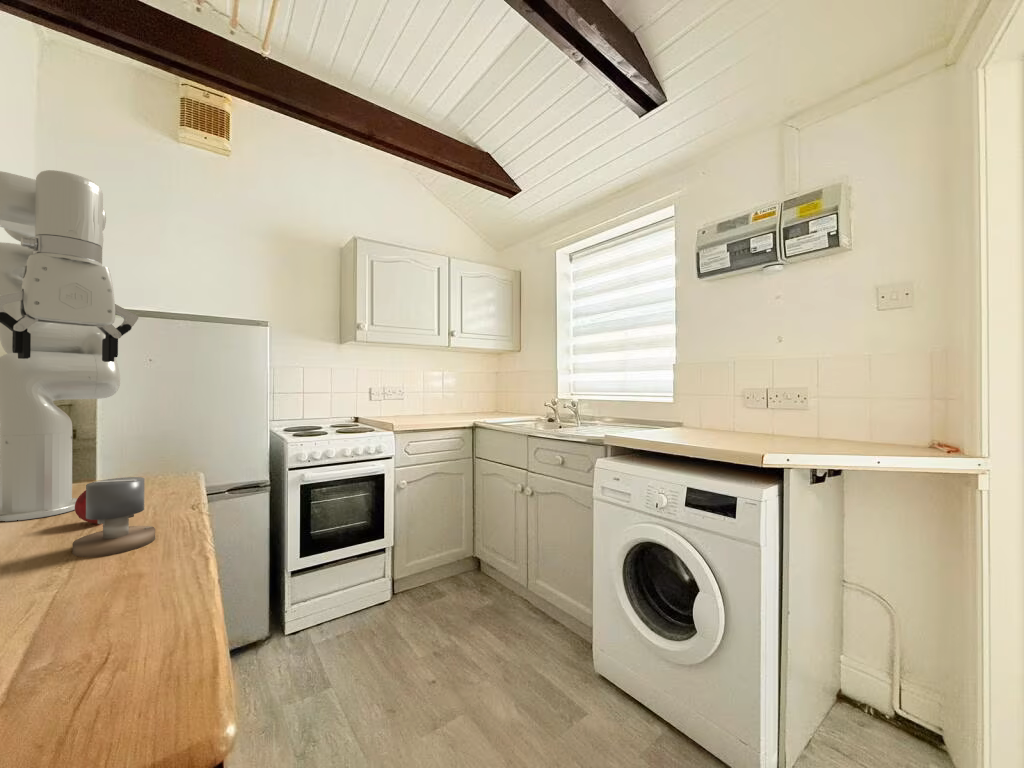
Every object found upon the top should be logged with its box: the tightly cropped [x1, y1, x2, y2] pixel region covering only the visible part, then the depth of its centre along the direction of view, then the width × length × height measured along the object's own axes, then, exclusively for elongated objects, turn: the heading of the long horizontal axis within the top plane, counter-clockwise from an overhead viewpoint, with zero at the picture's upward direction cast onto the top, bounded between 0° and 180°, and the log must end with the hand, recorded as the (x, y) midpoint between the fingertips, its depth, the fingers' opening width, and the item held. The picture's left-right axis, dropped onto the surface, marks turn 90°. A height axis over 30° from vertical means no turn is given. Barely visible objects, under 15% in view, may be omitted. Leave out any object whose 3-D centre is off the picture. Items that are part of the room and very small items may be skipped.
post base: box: [72, 514, 156, 558], centre depth 68 cm, size 10×10×5 cm
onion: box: [74, 480, 101, 525], centre depth 78 cm, size 6×6×8 cm
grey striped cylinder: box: [85, 476, 145, 520], centre depth 68 cm, size 7×8×5 cm
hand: (68, 360), depth 68 cm, fingers open, 9 cm apart
